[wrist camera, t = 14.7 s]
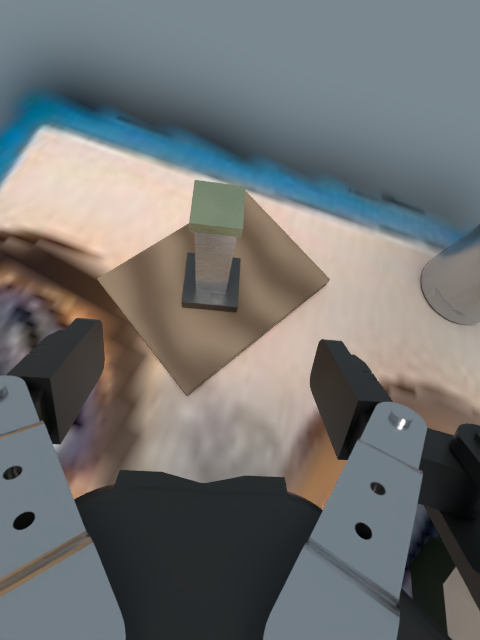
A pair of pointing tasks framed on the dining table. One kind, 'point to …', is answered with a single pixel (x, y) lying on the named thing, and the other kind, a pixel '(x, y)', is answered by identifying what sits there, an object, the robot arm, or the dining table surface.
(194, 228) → the square capped column
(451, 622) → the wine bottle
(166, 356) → the serving board
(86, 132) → the dining table surface
